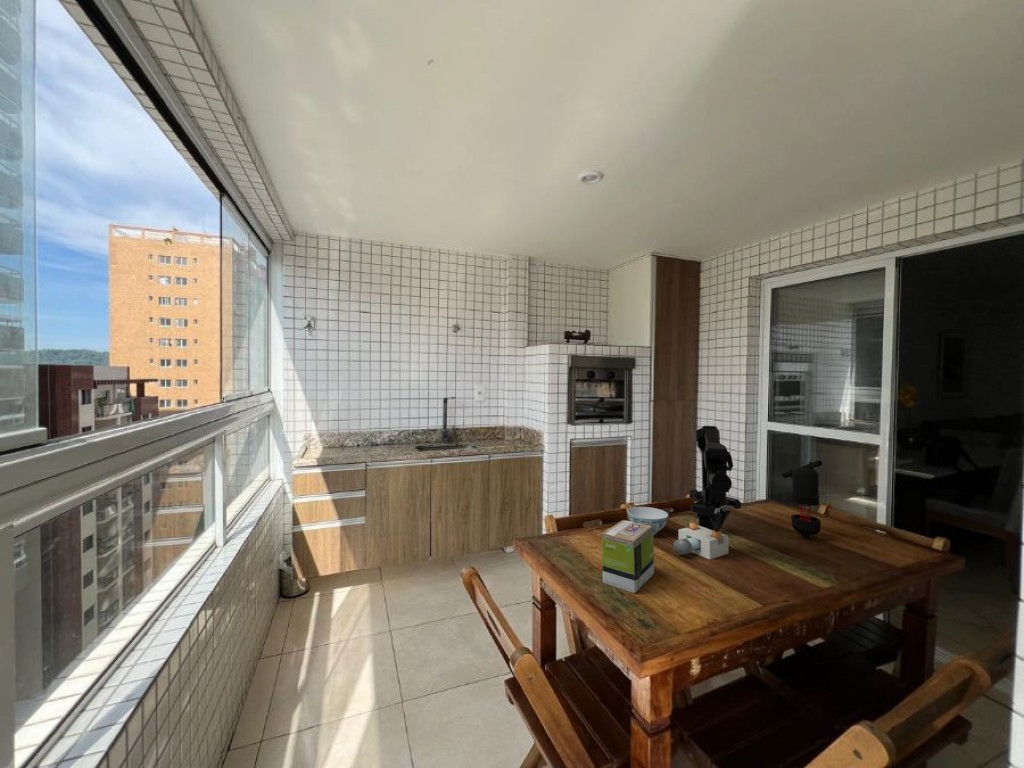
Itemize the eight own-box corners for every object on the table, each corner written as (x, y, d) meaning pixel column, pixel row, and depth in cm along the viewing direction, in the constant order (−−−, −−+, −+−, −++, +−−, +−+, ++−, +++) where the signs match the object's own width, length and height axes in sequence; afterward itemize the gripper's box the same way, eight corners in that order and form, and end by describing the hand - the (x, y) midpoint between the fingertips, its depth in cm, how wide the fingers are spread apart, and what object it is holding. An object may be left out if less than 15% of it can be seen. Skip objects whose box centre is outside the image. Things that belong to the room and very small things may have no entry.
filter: (829, 541, 146) (829, 459, 146) (815, 545, 142) (815, 461, 142) (789, 529, 158) (789, 454, 158) (776, 533, 154) (775, 455, 154)
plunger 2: (715, 536, 136) (715, 529, 136) (723, 539, 133) (723, 532, 133) (710, 538, 134) (710, 530, 135) (717, 541, 132) (717, 533, 132)
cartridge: (704, 543, 141) (704, 530, 141) (716, 547, 137) (716, 534, 137) (673, 551, 134) (673, 538, 134) (685, 556, 129) (685, 542, 130)
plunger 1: (692, 528, 144) (692, 521, 144) (699, 531, 141) (699, 524, 141) (687, 530, 142) (687, 523, 142) (694, 532, 140) (694, 525, 140)
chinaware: (661, 543, 143) (661, 521, 143) (621, 533, 152) (621, 513, 152) (672, 531, 155) (673, 511, 155) (635, 523, 164) (635, 504, 164)
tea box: (623, 565, 125) (623, 518, 125) (654, 574, 119) (655, 525, 119) (601, 583, 114) (601, 531, 114) (635, 595, 107) (635, 540, 107)
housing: (696, 541, 145) (696, 524, 145) (728, 553, 134) (728, 535, 134) (678, 546, 140) (678, 529, 140) (709, 559, 130) (709, 541, 130)
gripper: (712, 477, 146) (712, 519, 145) (677, 482, 137) (677, 528, 136) (742, 483, 136) (742, 529, 136) (707, 490, 127) (707, 539, 127)
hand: (716, 531), depth 134 cm, fingers closed
